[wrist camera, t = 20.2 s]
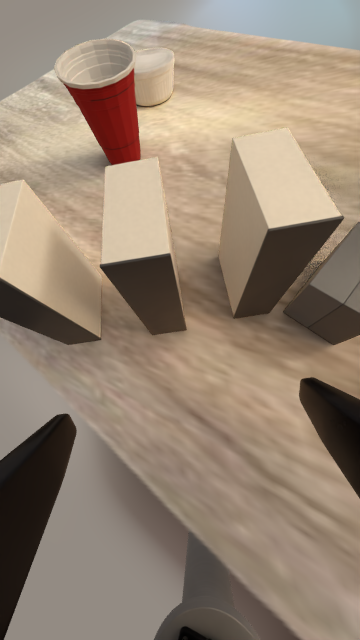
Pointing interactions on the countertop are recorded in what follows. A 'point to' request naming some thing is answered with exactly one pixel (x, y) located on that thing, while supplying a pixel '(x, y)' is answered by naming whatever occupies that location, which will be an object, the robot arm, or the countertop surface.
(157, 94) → the ramekin
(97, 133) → the plastic cup
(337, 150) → the countertop surface
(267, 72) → the countertop surface
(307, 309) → the grey books
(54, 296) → the white books
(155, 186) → the cream rectangular block
